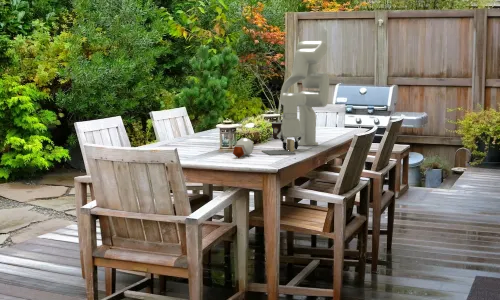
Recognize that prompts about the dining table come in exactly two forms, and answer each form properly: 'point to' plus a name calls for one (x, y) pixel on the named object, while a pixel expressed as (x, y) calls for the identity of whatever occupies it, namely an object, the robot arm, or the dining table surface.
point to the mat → (278, 152)
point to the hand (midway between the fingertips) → (290, 149)
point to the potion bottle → (243, 147)
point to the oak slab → (290, 144)
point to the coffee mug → (276, 129)
